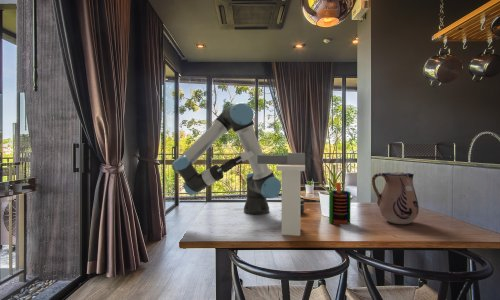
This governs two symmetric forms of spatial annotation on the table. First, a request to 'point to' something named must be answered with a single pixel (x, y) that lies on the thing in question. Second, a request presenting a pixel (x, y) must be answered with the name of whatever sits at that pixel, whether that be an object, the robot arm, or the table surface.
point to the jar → (302, 206)
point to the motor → (339, 206)
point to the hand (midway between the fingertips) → (250, 153)
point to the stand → (291, 198)
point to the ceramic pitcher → (397, 197)
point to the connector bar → (282, 159)
